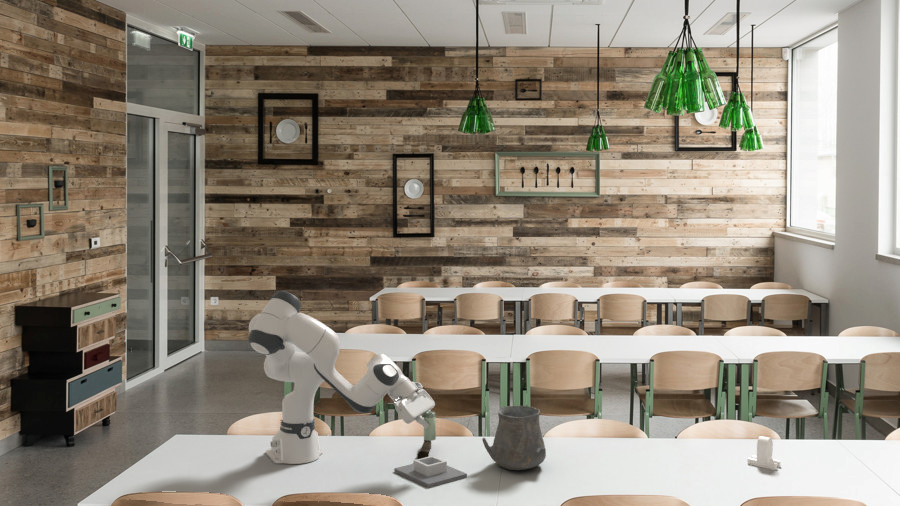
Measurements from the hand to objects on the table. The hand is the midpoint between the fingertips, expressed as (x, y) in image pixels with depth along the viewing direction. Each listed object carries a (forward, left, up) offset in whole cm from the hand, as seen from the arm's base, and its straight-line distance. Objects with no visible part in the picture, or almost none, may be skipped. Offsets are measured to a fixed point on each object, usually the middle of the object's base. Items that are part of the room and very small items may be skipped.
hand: (431, 424), depth 276 cm
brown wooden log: (-21, +12, -18) cm, 30 cm away
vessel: (+11, +30, -18) cm, 36 cm away
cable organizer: (+64, +97, -18) cm, 118 cm away
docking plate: (-1, 0, -17) cm, 17 cm away
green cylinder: (0, 0, -5) cm, 5 cm away
